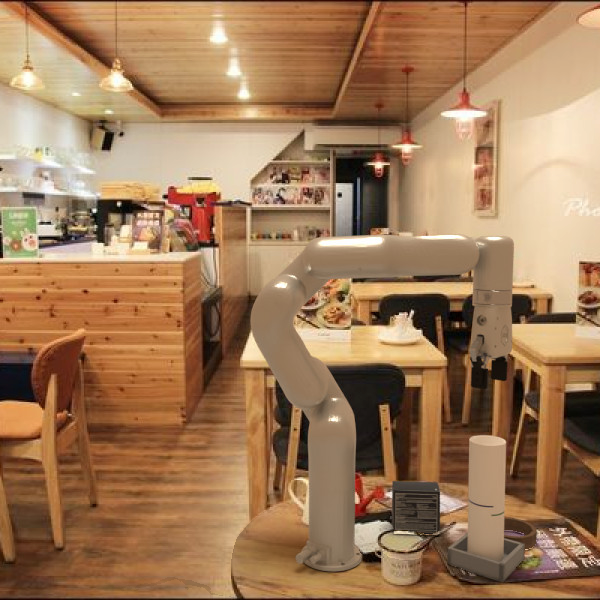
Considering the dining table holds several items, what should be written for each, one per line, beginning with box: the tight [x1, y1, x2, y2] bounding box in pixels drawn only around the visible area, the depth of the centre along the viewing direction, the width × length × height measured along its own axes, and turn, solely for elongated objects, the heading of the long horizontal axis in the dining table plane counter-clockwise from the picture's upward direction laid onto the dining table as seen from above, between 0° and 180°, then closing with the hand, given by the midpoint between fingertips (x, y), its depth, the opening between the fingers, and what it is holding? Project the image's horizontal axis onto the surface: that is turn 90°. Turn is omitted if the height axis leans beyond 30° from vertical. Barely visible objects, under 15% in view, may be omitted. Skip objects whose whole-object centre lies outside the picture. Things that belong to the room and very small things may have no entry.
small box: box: [391, 480, 441, 534], centre depth 154 cm, size 11×6×10 cm, turn 84°
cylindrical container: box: [467, 434, 507, 562], centre depth 138 cm, size 7×7×25 cm
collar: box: [504, 516, 538, 549], centre depth 149 cm, size 11×11×3 cm
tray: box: [446, 531, 526, 583], centre depth 139 cm, size 12×12×4 cm
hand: (489, 383), depth 136 cm, fingers open, 9 cm apart
